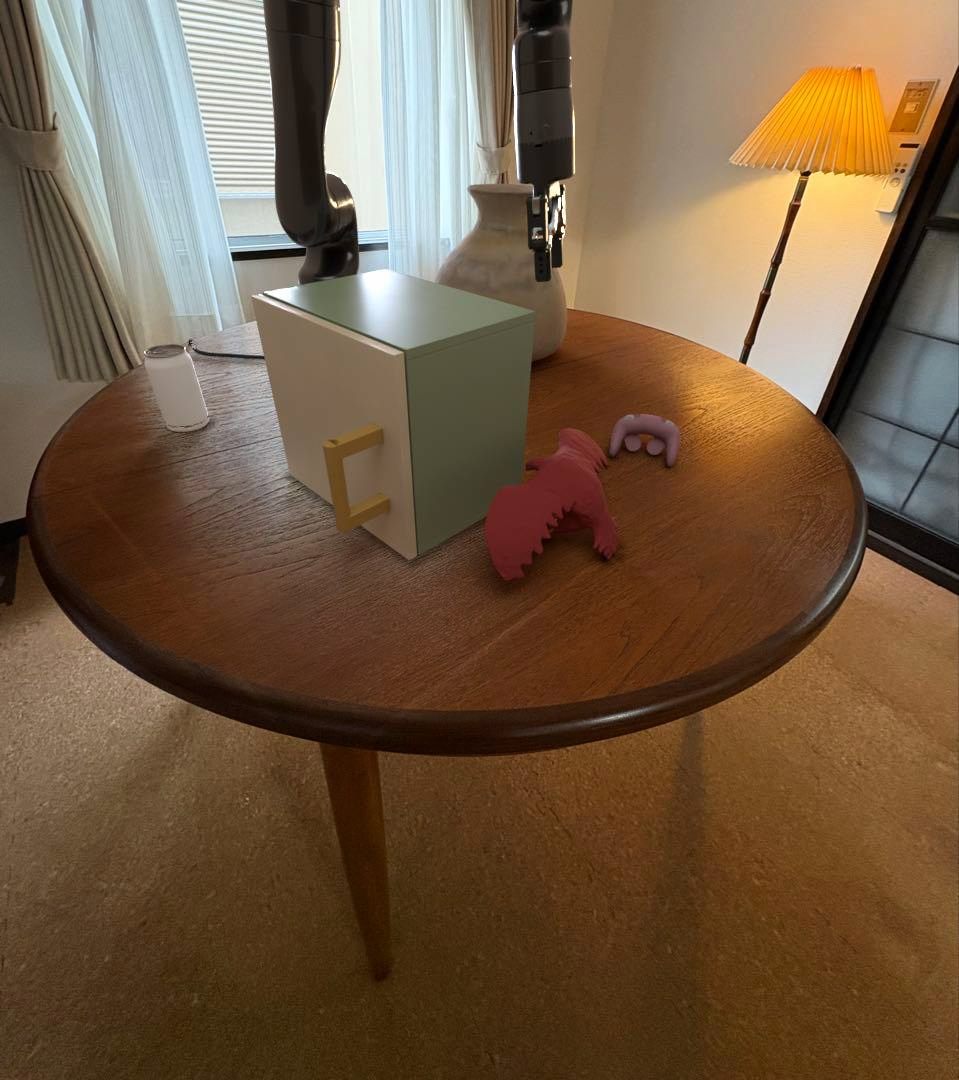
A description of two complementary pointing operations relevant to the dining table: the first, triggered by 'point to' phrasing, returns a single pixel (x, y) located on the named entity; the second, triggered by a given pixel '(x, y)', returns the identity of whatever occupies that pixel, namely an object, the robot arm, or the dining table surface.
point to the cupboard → (443, 385)
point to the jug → (507, 264)
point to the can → (176, 387)
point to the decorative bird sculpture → (551, 505)
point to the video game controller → (648, 425)
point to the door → (342, 419)
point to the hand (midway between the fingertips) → (549, 274)
